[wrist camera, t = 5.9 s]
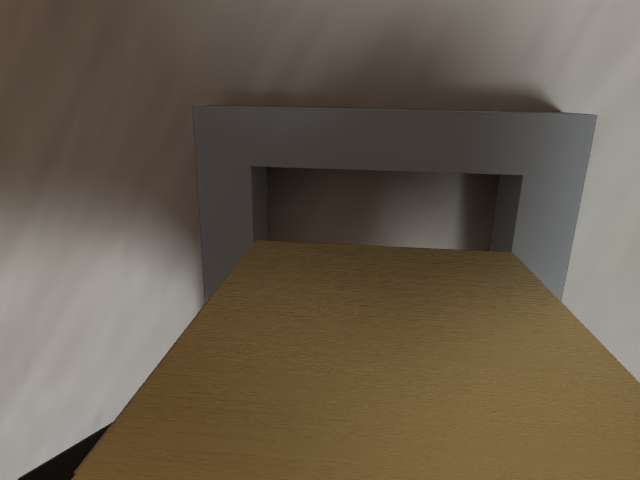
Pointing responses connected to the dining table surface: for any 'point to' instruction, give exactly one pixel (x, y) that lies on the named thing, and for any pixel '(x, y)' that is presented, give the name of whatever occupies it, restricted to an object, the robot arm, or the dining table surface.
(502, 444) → the metal-backed wooden cube
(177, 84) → the dining table surface
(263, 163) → the gray rectangular tray
